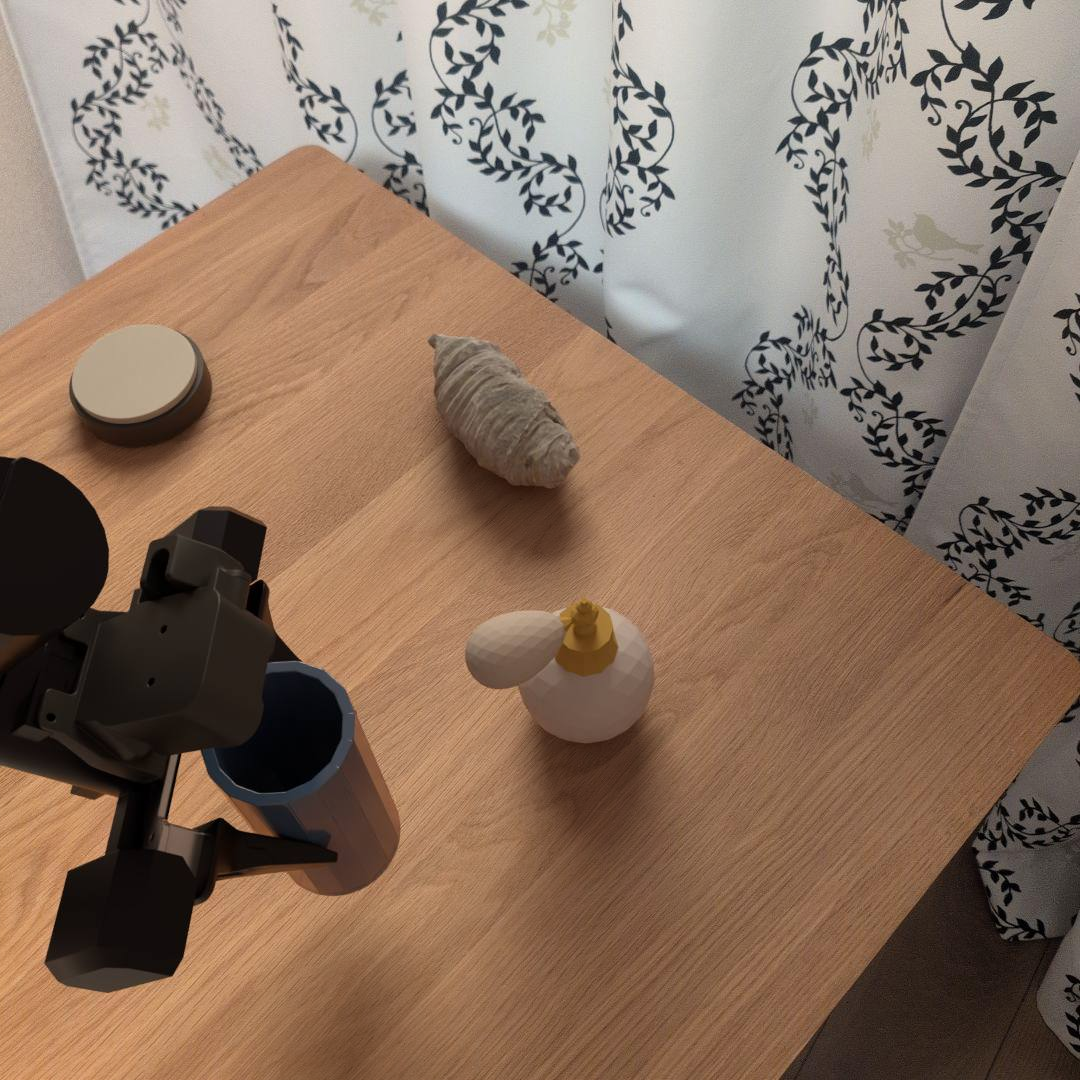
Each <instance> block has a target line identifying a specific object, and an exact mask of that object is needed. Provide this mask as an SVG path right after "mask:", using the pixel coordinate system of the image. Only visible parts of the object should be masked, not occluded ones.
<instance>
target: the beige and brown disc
mask: <svg viewBox="0 0 1080 1080" xmlns="http://www.w3.org/2000/svg"><path fill="white" fill-rule="evenodd" d="M212 389H213V381H212V376H211V372H210V369H209V368H208V365H207V362H206V360H205V358H204V355H203V353H202V351H201V350H200V348H199V346H198V345H197V343H196V342H195V341H194V340H192V338H190V337H189V336H188V335H186V334H185V333H183V332H181V331H179V330H177V329H174V328H171V327H167V326H164V325H160V324H153V323H148V324H147V323H146V324H144V323H142V324H134V325H127V326H124V327H121V328H118V329H115V330H113V331H111V332H109V333H107V334H105V335H102V336H101V337H100V338H99V339H98V338H97V340H96V341H94V342H93V343H92V344H90V346H88V347H87V348H86V349H85V350H84V352H83V353H82V354H81V355H80V356H79V358H78V359H77V362H76V363H75V366H74V368H73V371H72V373H71V376H70V378H69V385H68V392H69V398H70V402H71V404H72V406H73V407H72V408H74V410H75V412H76V413H77V415H78V417H79V419H80V420H81V422H82V424H84V426H85V428H86V429H87V430H88V431H89V432H90V434H92V435H93V436H94V437H95V438H97V439H99V440H100V441H102V442H104V443H107V444H109V445H112V446H116V447H121V448H122V447H123V448H142V447H143V448H144V447H149V446H153V445H157V444H160V443H163V442H165V441H168V440H170V439H172V438H174V437H176V436H178V435H180V434H181V433H183V432H184V431H185V430H187V429H188V428H189V427H191V426H192V425H193V424H194V423H195V422H196V421H197V420H198V419H199V418H200V417H201V415H202V414H203V412H204V411H205V409H206V407H207V405H208V404H209V401H210V398H211V393H212Z"/></svg>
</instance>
